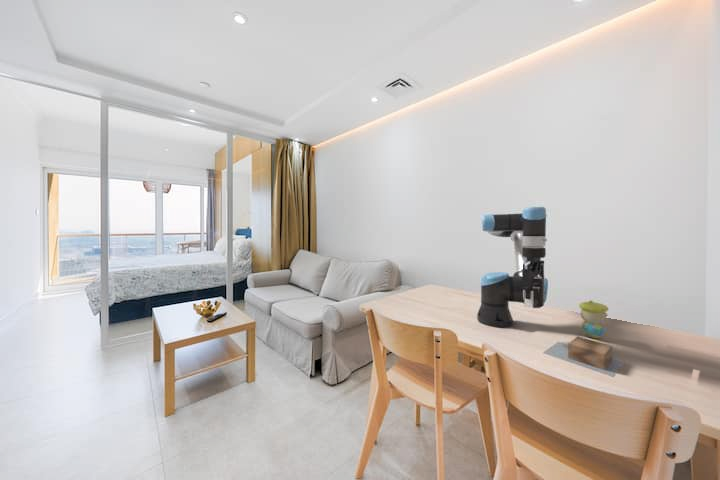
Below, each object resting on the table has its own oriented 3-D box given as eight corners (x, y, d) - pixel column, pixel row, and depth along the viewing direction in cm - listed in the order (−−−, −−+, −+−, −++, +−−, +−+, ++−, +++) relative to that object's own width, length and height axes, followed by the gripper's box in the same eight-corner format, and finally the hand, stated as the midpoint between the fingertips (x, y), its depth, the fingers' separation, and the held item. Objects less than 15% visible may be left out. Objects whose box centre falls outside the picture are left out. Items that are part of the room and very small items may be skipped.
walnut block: (568, 358, 86) (568, 343, 86) (577, 350, 91) (577, 336, 91) (604, 370, 79) (604, 354, 78) (612, 360, 84) (612, 345, 83)
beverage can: (531, 302, 105) (531, 273, 104) (548, 307, 99) (548, 277, 98) (518, 304, 103) (519, 275, 102) (535, 310, 97) (535, 278, 96)
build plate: (542, 356, 90) (542, 352, 90) (558, 344, 98) (558, 341, 98) (613, 380, 75) (613, 376, 75) (624, 365, 83) (624, 361, 83)
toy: (613, 342, 98) (614, 304, 98) (586, 341, 100) (587, 303, 99) (599, 334, 106) (599, 298, 105) (574, 332, 108) (574, 297, 107)
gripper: (533, 249, 91) (532, 313, 92) (555, 245, 102) (554, 302, 103) (511, 248, 97) (510, 307, 98) (533, 244, 108) (533, 298, 110)
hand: (533, 304), depth 101 cm, fingers closed on beverage can, 7 cm apart
